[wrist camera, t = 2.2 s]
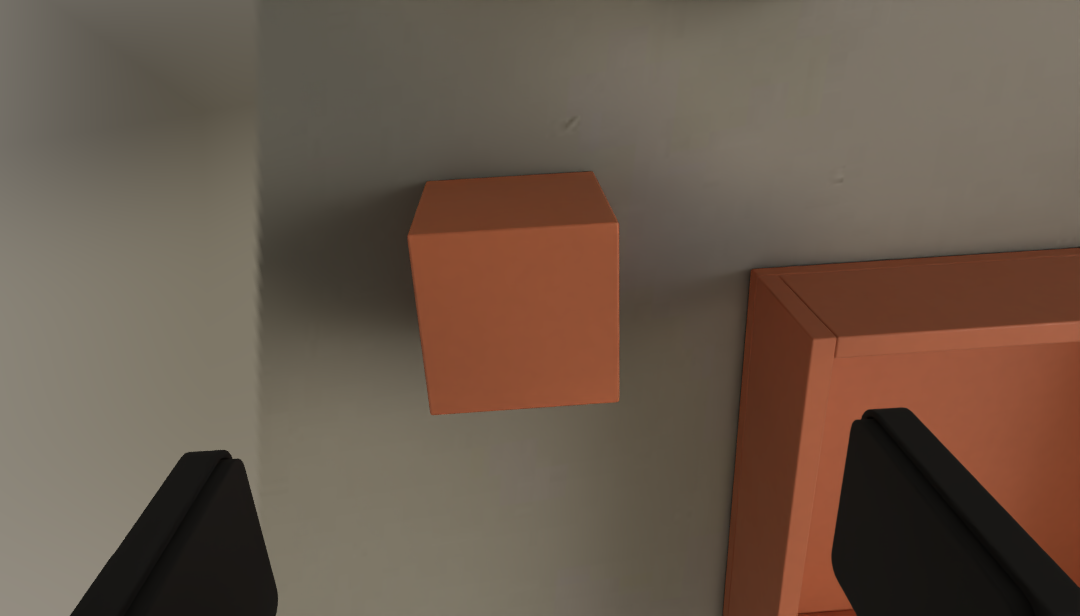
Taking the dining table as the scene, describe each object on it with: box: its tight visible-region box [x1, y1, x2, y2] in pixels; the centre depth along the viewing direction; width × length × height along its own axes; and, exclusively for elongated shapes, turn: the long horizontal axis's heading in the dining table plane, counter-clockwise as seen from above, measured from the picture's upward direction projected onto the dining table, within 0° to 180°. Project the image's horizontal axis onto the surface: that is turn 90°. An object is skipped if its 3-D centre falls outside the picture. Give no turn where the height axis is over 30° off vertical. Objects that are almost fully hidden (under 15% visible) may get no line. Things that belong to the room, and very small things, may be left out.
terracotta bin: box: [723, 248, 1080, 616], centre depth 22 cm, size 14×14×5 cm
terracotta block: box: [407, 171, 619, 415], centre depth 18 cm, size 5×5×5 cm
